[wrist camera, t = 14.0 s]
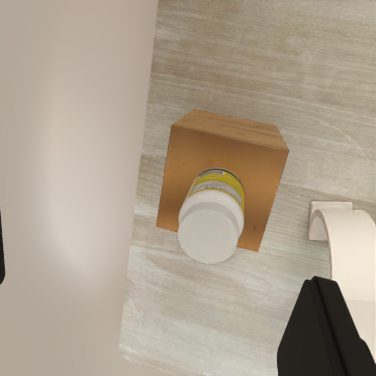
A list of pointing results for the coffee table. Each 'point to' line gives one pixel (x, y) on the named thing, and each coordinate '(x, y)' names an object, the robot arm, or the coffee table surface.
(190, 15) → the coffee table surface
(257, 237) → the block
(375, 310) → the plate
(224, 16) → the coffee table surface
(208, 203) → the supplement bottle
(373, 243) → the headphone stand
